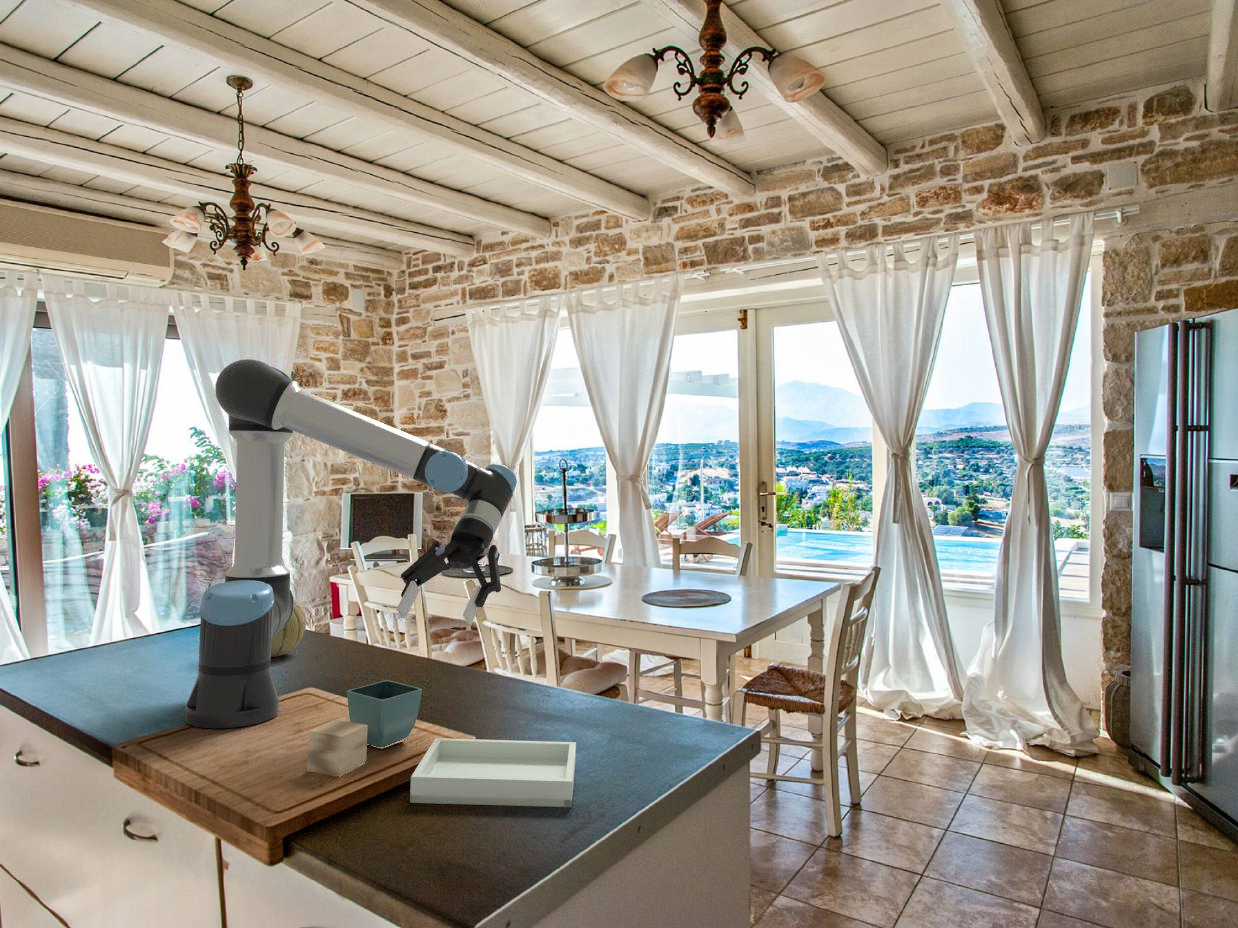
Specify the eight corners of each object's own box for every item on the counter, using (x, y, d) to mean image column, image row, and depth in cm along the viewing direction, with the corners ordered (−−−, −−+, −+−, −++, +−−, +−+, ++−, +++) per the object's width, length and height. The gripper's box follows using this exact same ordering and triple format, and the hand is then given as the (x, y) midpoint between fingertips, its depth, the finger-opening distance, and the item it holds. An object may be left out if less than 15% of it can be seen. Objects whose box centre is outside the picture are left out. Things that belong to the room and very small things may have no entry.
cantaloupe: (261, 647, 196) (264, 586, 196) (316, 651, 194) (319, 590, 194) (223, 660, 181) (226, 595, 182) (283, 665, 179) (286, 598, 180)
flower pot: (380, 757, 125) (382, 699, 125) (342, 745, 129) (345, 689, 129) (421, 742, 132) (423, 688, 132) (384, 731, 137) (387, 679, 137)
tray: (409, 802, 108) (410, 776, 108) (434, 760, 124) (435, 737, 124) (571, 807, 108) (572, 781, 108) (575, 764, 124) (576, 742, 124)
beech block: (306, 771, 118) (308, 730, 118) (333, 758, 124) (335, 719, 124) (340, 777, 116) (342, 736, 116) (366, 763, 122) (367, 724, 122)
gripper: (538, 544, 156) (502, 634, 141) (428, 538, 164) (382, 623, 149) (528, 518, 151) (489, 609, 136) (414, 513, 159) (366, 598, 144)
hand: (433, 616), depth 143 cm, fingers open, 13 cm apart
